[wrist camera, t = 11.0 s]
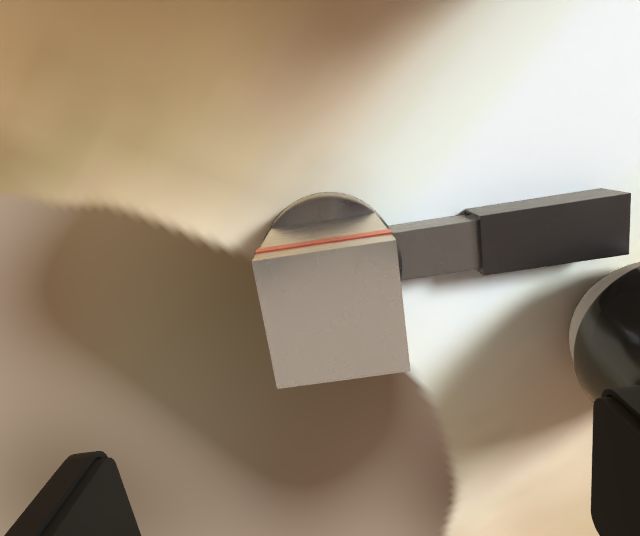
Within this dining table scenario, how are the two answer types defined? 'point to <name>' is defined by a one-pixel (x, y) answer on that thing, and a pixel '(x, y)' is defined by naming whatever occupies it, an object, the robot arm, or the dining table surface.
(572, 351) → the dark brown rounded piece
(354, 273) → the cardboard mailer box
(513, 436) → the dining table surface
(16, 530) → the robot arm
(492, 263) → the small saucepan
